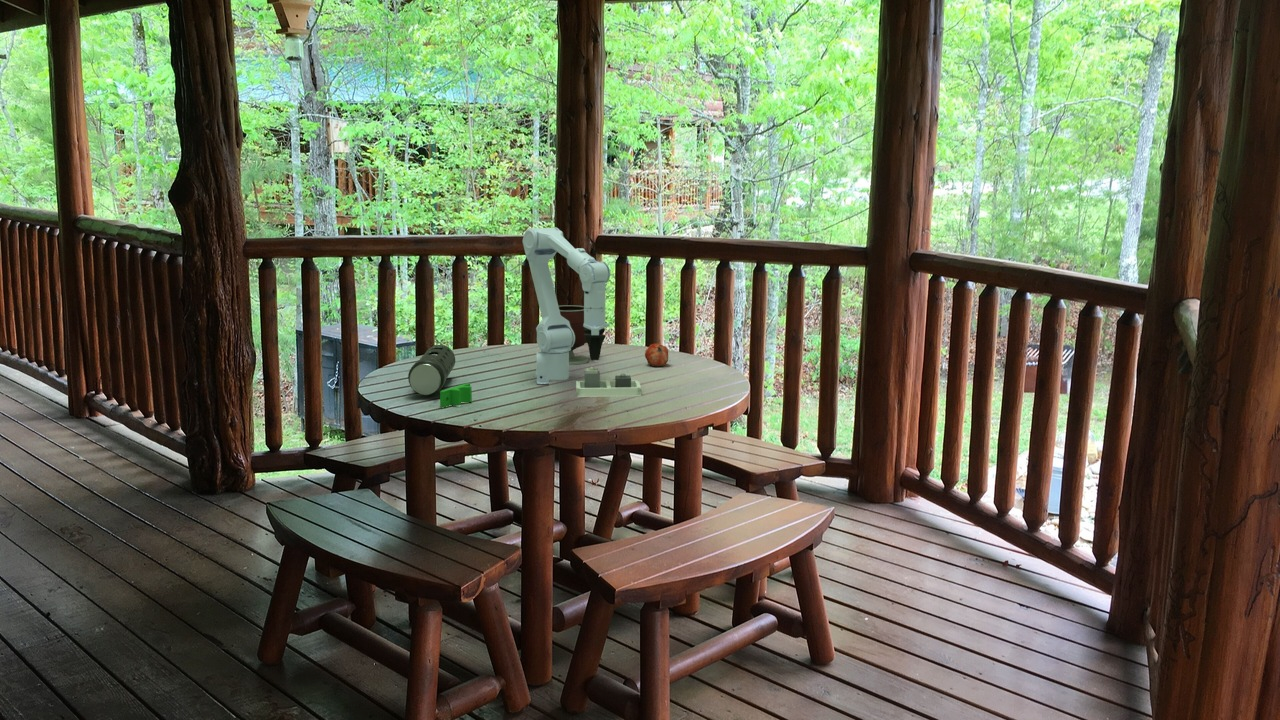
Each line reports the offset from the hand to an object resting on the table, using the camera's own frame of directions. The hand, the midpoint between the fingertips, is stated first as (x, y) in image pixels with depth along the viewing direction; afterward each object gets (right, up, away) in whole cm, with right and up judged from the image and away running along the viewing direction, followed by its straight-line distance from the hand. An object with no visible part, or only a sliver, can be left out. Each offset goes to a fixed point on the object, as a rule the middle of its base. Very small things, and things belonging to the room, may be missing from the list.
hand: (594, 357), depth 263 cm
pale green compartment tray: (+4, -10, -2) cm, 11 cm away
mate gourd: (-11, -1, +46) cm, 47 cm away
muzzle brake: (-45, -9, +6) cm, 46 cm away
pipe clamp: (-34, -12, -13) cm, 39 cm away
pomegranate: (+18, -3, +40) cm, 44 cm away
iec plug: (0, -9, -3) cm, 10 cm away
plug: (+8, -9, -2) cm, 12 cm away
